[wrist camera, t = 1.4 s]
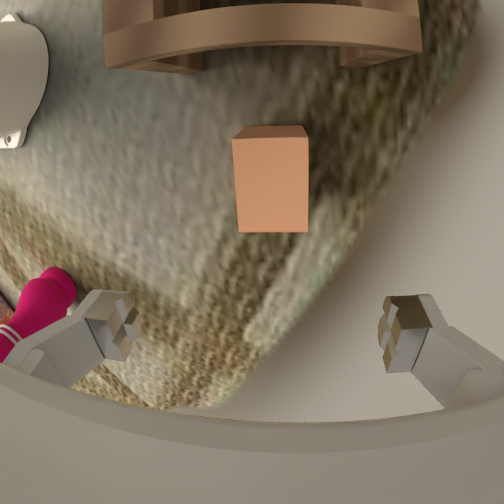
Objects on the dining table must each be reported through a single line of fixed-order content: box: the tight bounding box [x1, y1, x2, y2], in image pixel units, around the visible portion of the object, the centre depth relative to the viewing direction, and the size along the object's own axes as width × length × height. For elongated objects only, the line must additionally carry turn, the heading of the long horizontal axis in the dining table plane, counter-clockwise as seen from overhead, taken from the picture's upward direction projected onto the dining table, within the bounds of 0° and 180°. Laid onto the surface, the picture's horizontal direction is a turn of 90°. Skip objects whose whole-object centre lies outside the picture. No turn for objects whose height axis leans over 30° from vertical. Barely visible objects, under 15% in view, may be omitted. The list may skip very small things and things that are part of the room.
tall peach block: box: [232, 125, 309, 232], centre depth 24 cm, size 5×7×8 cm
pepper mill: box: [0, 267, 77, 363], centre depth 30 cm, size 7×7×20 cm
